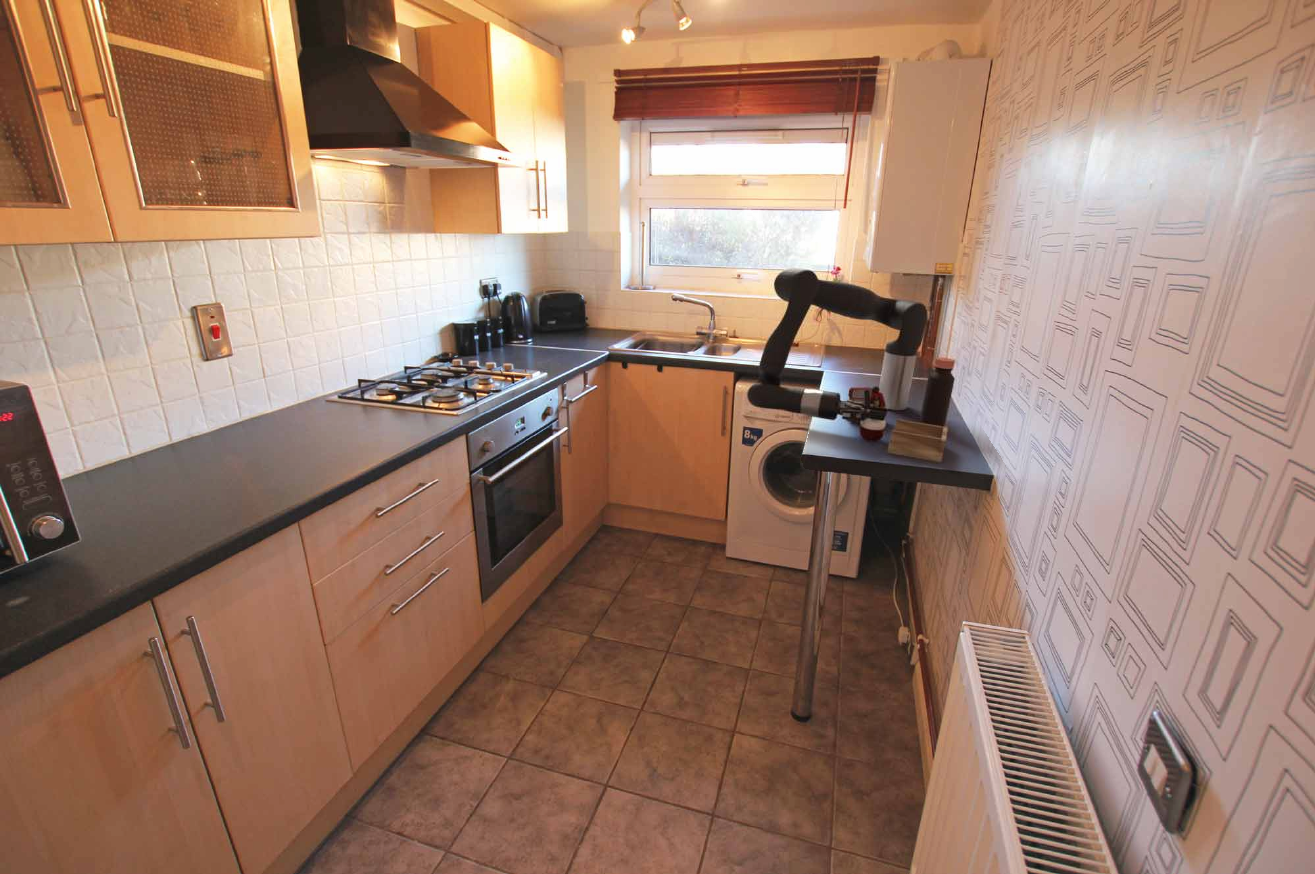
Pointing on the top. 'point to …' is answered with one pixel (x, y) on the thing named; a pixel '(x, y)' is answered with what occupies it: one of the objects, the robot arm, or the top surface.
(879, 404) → the toy fire truck
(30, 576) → the top surface
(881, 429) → the cocoa
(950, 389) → the bottle
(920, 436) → the wooden tray
